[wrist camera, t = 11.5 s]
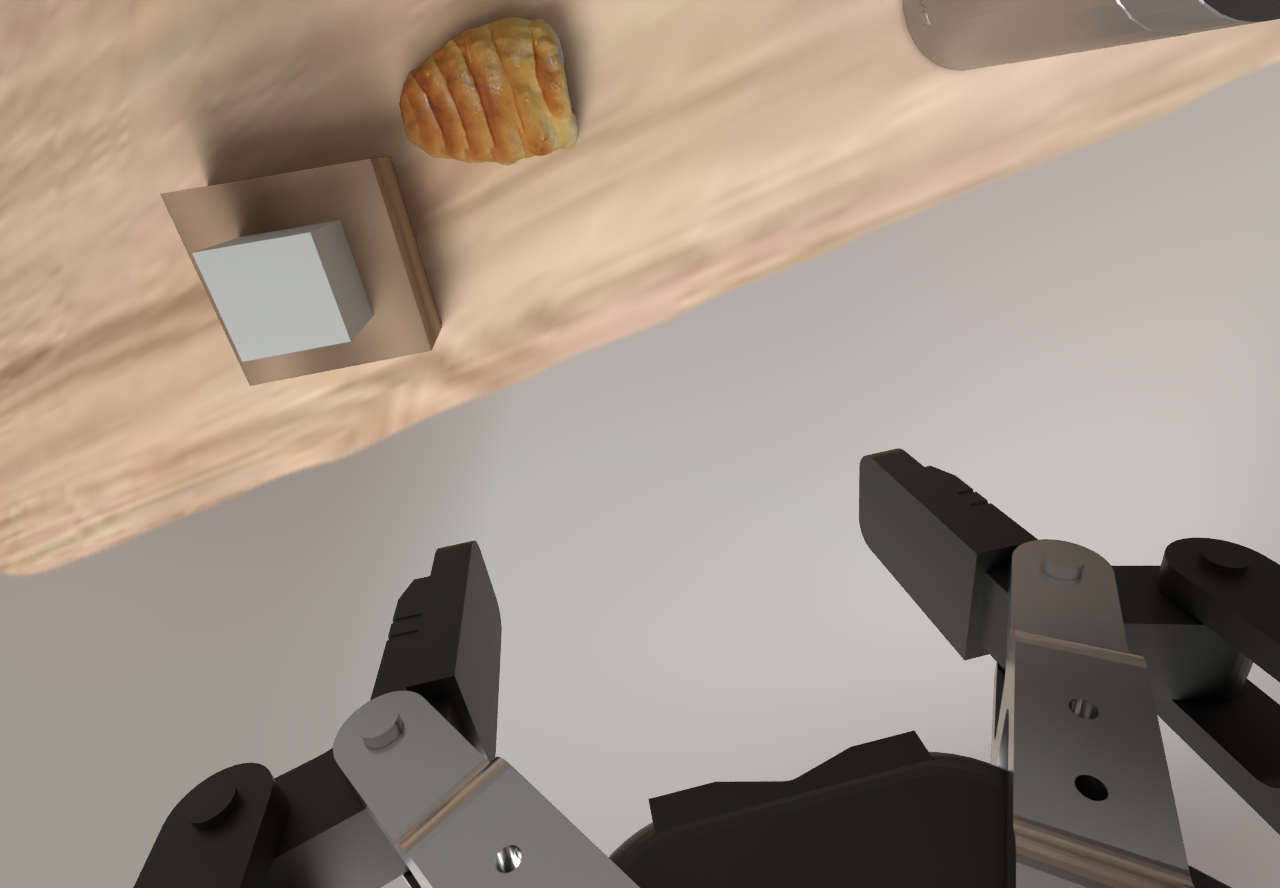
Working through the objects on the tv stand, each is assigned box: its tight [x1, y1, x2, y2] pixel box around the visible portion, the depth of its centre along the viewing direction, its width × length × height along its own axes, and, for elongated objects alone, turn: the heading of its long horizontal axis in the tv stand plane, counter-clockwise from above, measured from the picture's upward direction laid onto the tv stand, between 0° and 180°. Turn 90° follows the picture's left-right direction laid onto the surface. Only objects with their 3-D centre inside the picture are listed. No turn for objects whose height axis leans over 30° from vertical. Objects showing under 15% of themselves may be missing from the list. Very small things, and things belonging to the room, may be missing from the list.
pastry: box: [399, 16, 578, 165], centre depth 33 cm, size 9×7×4 cm
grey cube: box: [192, 220, 374, 362], centre depth 30 cm, size 5×5×5 cm
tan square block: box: [161, 157, 442, 386], centre depth 35 cm, size 10×10×5 cm
